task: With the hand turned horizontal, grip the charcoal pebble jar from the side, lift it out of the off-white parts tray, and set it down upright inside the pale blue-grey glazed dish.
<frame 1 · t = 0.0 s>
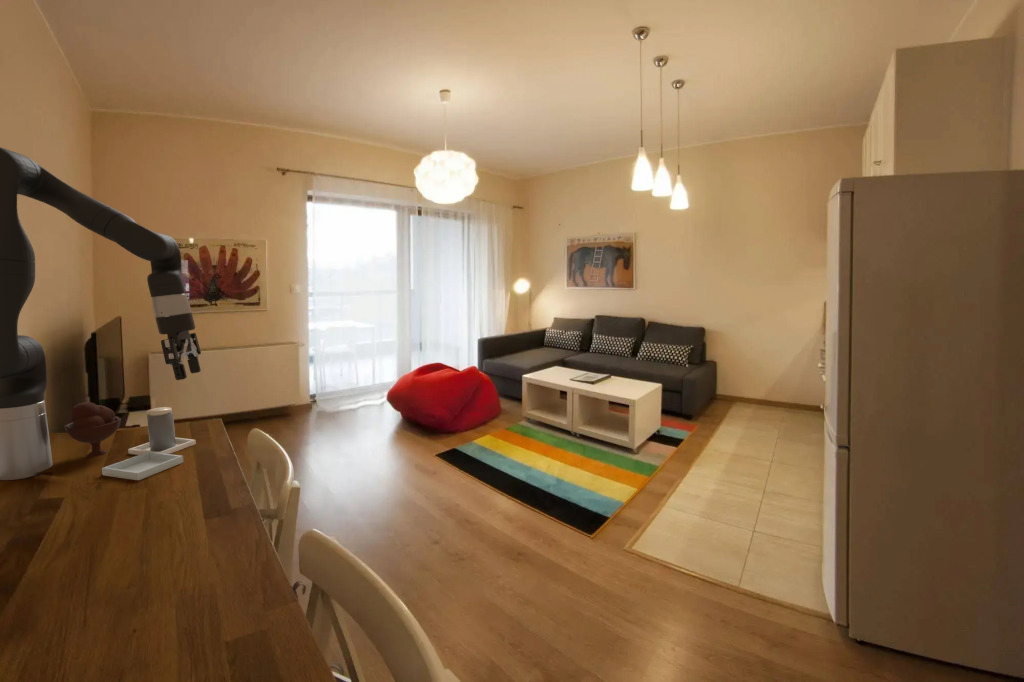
hand: (188, 375, 116), 22 cm above the table, tool pointing down, fingers open, 8 cm apart
ice cream bowl: (97, 457, 120), on the table
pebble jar: (163, 448, 124), point 1 cm above the table, touching parts tray
parts tray: (163, 451, 124), on the table
glazed dish: (144, 471, 111), on the table
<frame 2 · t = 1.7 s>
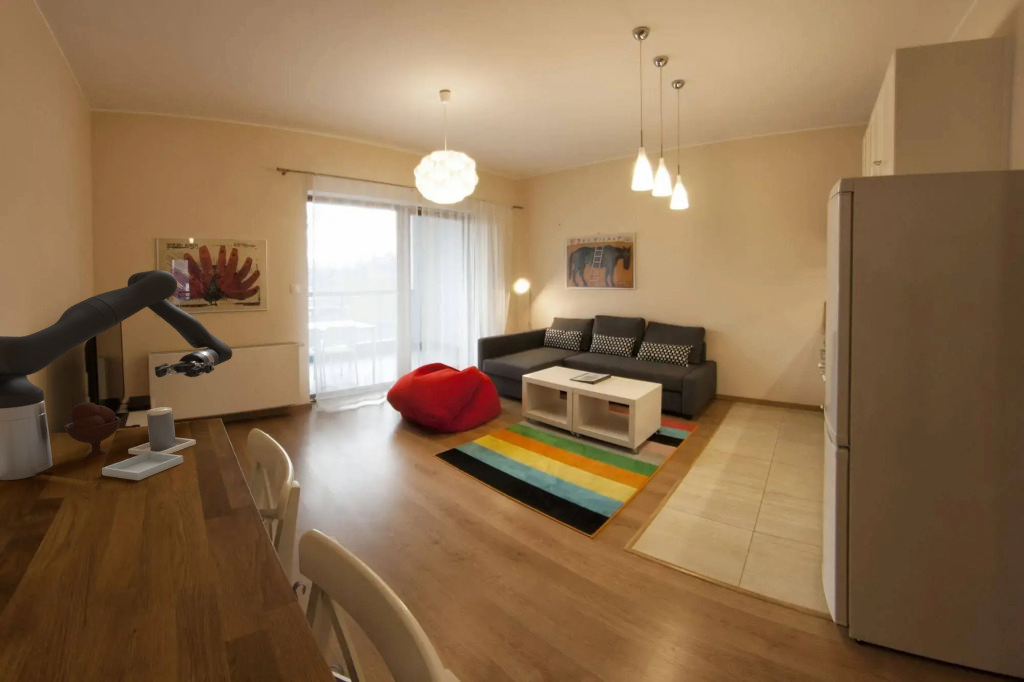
hand: (175, 373, 132), 20 cm above the table, tool horizontal, fingers open, 8 cm apart
nothing on the table moved.
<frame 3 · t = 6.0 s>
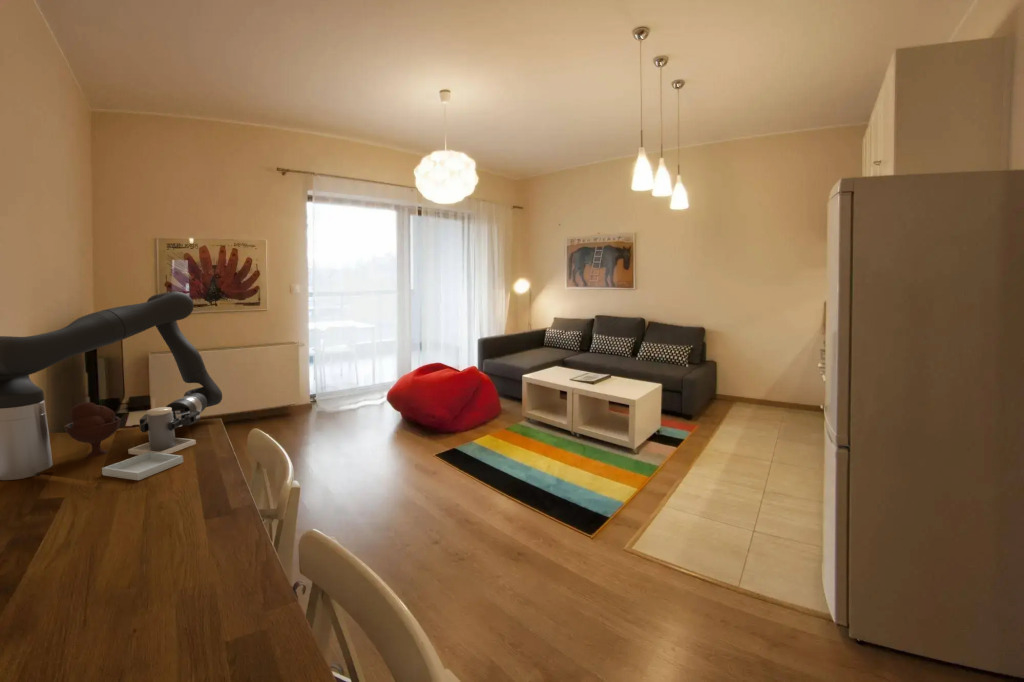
hand: (156, 427, 121), 8 cm above the table, tool horizontal, fingers closed on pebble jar, 5 cm apart
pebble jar: (163, 448, 124), point 1 cm above the table, touching gripper, parts tray
everything else where it was.
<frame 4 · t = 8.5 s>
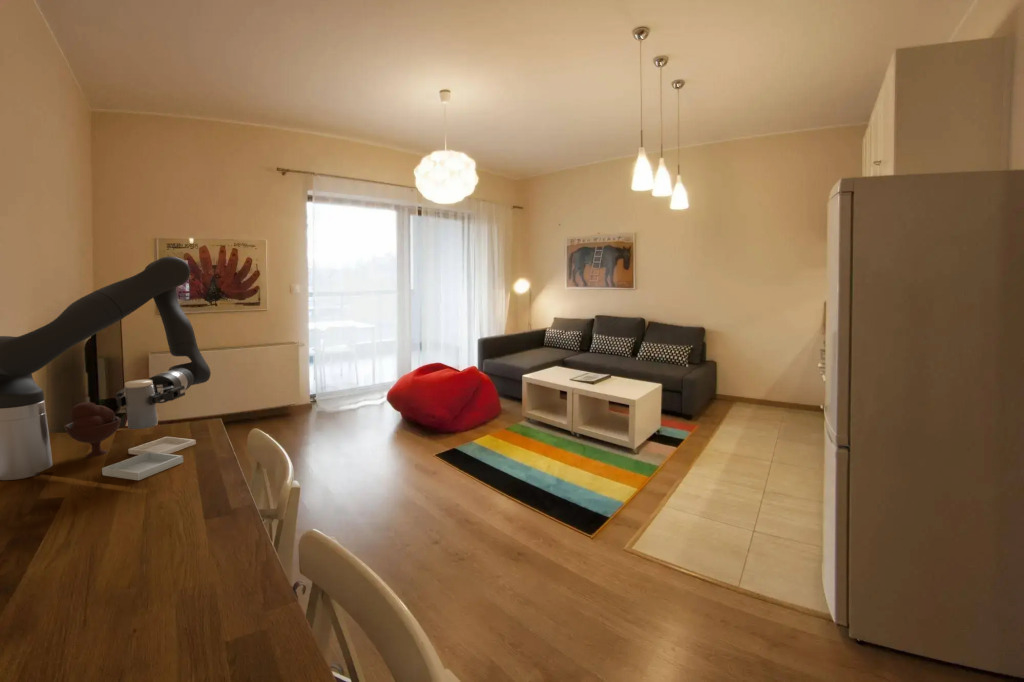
hand: (135, 401, 108), 18 cm above the table, tool horizontal, fingers closed on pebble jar, 5 cm apart
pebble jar: (143, 425, 111), point 11 cm above the table, touching gripper
everything else where it was.
when the fingers open (9 cm above the table, at t = 11.3 s): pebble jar drops 1 cm, resting on glazed dish.
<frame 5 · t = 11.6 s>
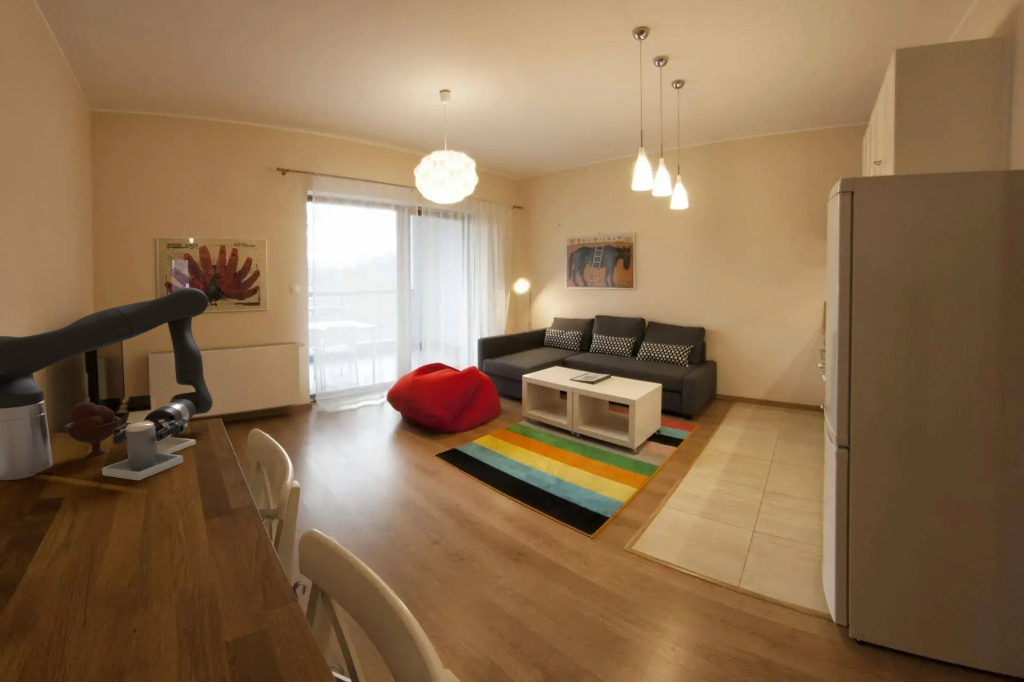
hand: (137, 438, 108), 9 cm above the table, tool horizontal, fingers open, 8 cm apart
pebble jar: (144, 468, 111), point 1 cm above the table, touching glazed dish
everything else where it was.
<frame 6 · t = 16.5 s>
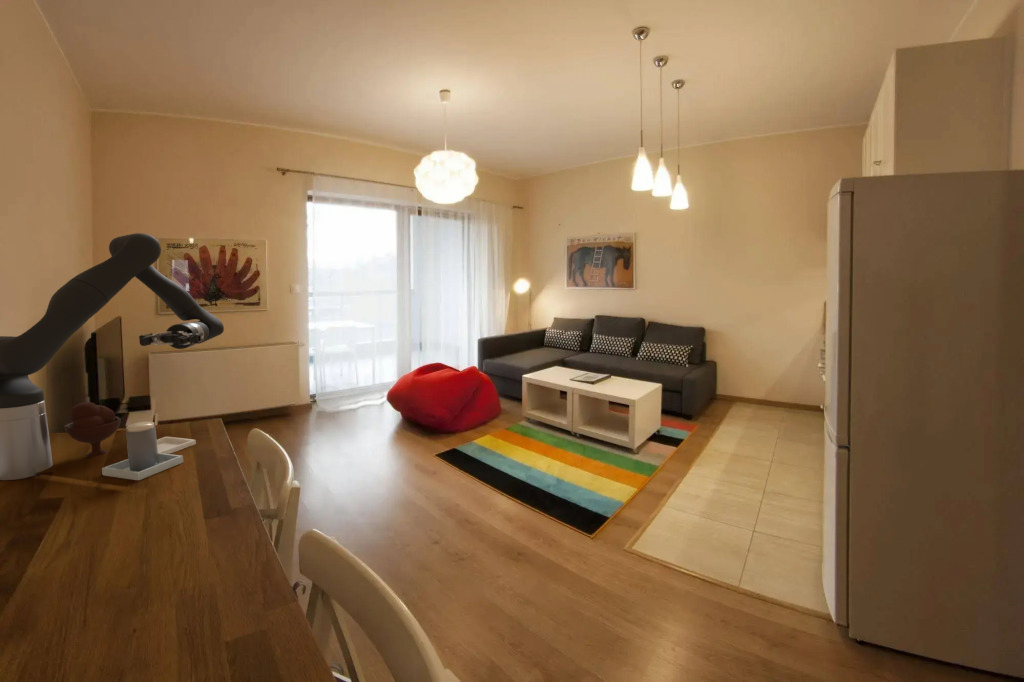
hand: (161, 341, 123), 30 cm above the table, tool horizontal, fingers open, 8 cm apart
nothing on the table moved.
at the end: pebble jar 0.1 cm off-centre on the glazed dish, point 0.8 cm above the glazed dish's base; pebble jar tilted 0°; the gripper is holding nothing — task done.
